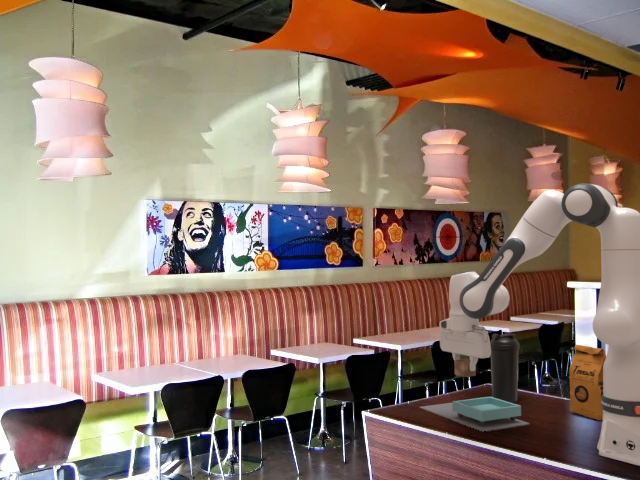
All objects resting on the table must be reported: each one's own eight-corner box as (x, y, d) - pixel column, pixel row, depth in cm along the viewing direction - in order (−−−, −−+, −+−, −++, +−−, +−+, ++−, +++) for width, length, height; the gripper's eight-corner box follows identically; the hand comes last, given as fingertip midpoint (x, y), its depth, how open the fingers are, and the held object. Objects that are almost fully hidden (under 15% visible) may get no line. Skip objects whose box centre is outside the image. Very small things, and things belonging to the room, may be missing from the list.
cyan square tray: (521, 421, 201) (521, 405, 201) (482, 427, 195) (481, 411, 195) (490, 411, 214) (490, 396, 214) (452, 416, 207) (452, 401, 207)
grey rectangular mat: (529, 424, 200) (529, 423, 200) (482, 432, 192) (482, 430, 192) (462, 402, 229) (462, 401, 229) (419, 408, 221) (419, 406, 221)
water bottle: (525, 402, 229) (524, 335, 229) (497, 403, 227) (496, 336, 228) (511, 395, 239) (511, 331, 239) (485, 396, 237) (484, 332, 238)
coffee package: (595, 422, 202) (595, 350, 203) (565, 413, 214) (564, 344, 214) (619, 418, 207) (618, 348, 207) (588, 410, 218) (587, 343, 218)
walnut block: (475, 375, 202) (475, 360, 202) (464, 377, 200) (463, 362, 200) (466, 373, 206) (465, 358, 206) (454, 374, 204) (454, 360, 204)
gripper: (495, 326, 195) (496, 373, 195) (451, 320, 214) (452, 363, 213) (478, 327, 192) (479, 375, 192) (435, 322, 211) (436, 365, 210)
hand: (465, 369), depth 203 cm, fingers closed on walnut block, 4 cm apart
